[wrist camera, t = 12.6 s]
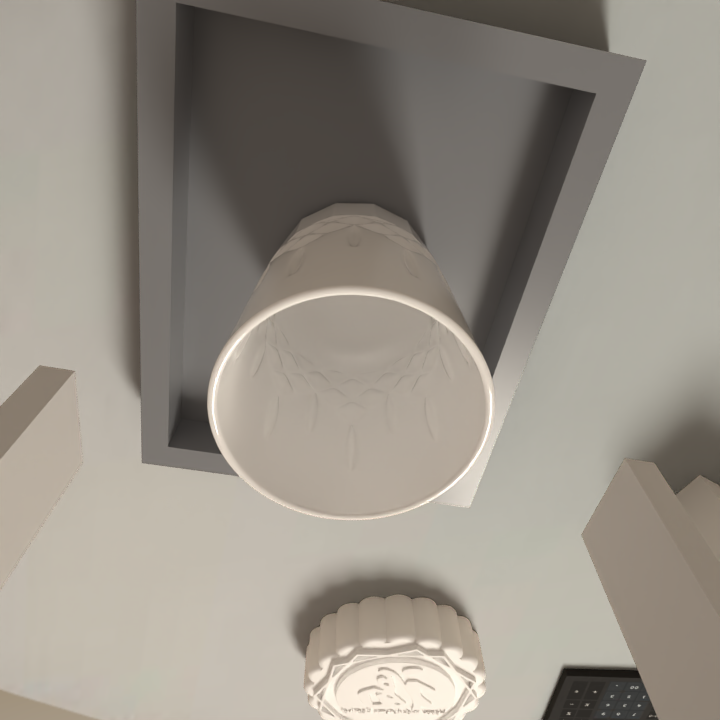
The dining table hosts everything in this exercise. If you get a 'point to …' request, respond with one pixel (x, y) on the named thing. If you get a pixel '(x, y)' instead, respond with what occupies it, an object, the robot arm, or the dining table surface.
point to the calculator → (600, 696)
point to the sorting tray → (353, 173)
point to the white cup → (351, 373)
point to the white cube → (704, 510)
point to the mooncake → (394, 662)
